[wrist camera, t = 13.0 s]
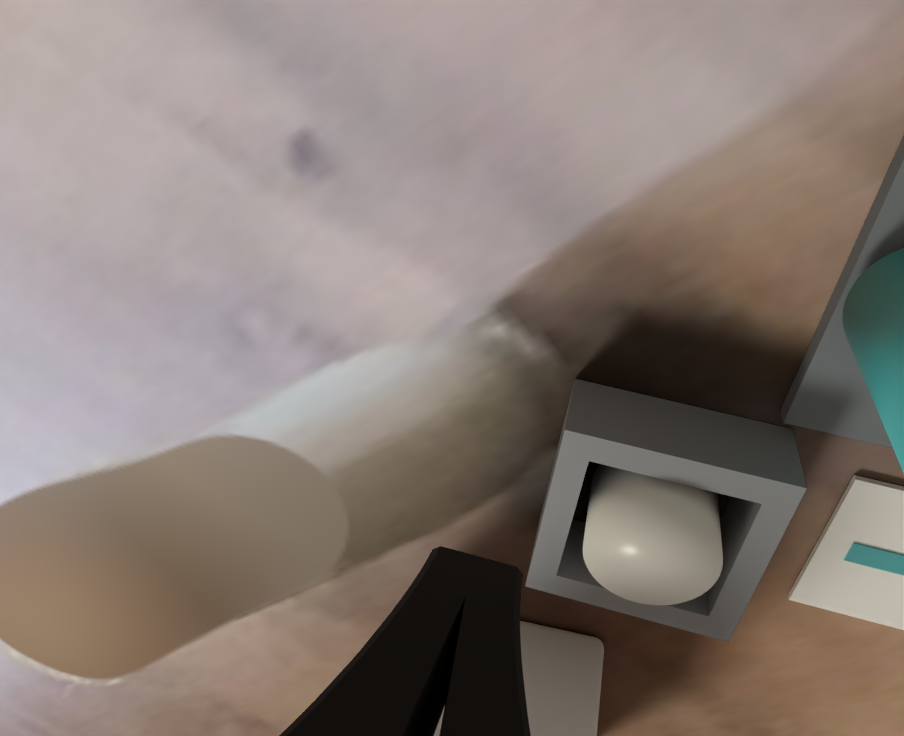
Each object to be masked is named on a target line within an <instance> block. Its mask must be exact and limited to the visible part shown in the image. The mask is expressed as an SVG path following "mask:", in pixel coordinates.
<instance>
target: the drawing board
mask: <svg viewBox="0 0 904 736" xmlns="http://www.w3.org/2000/svg"><path fill="white" fill-rule="evenodd" d="M902 248H904V136H903V138H902V140H901V143H900V145H899V147H898V149H897V151H896V154H895V156H894V158H893V160H892V163H891V165H890V167H889V169H888V172H887V174H886V176H885V178H884V180H883V183H882V185H881V187H880V189H879V192H878V194H877V196H876V198H875V200H874V203H873V205H872V207H871V209H870V212H869V214H868V216H867V218H866V221H865V223H864V225H863V227H862V229H861V232H860V234H859V236H858V238H857V241H856V243H855V245H854V247H853V249H852V252H851V254H850V256H849V258H848V261H847V263H846V265H845V267H844V270H843V272H842V274H841V276H840V278H839V281H838V283H837V285H836V287H835V290H834V292H833V294H832V296H831V298H830V301H829V303H828V305H827V307H826V310H825V312H824V314H823V316H822V319H821V321H820V323H819V325H818V327H817V330H816V332H815V334H814V336H813V339H812V341H811V343H810V345H809V347H808V350H807V352H806V354H805V356H804V359H803V361H802V363H801V365H800V368H799V370H798V372H797V374H796V376H795V379H794V381H793V383H792V385H791V388H790V390H789V392H788V394H787V396H786V399H785V401H784V403H783V405H782V408H781V410H780V411H781V415H782V420H783V423H786V424H790V425H795V426H799V427H803V428H808V429H812V430H816V431H821V432H825V433H829V434H834V435H838V436H842V437H847V438H851V439H855V440H860V441H864V442H868V443H873V444H877V445H881V446H886V447H890V448H893V447H892V444H891V442H890V439H889V437H888V435H887V432H886V430H885V428H884V425H883V423H882V420H881V418H880V416H879V413H878V411H877V409H876V406H875V404H874V401H873V399H872V397H871V394H870V392H869V390H868V387H867V385H866V383H865V380H864V378H863V375H862V373H861V371H860V368H859V366H858V364H857V361H856V359H855V356H854V354H853V352H852V349H851V347H850V345H849V342H848V340H847V337H846V335H845V332H844V328H843V321H842V315H843V307H844V303H845V300H846V297H847V295H848V293H849V291H850V289H851V287H852V286H853V284H854V283H855V282H856V280H857V279H858V278H859V277H860V276H861V275H862V273H863V272H864V271H865V270H867V269H868V268H869V267H870V266H871V265H872V264H874V263H875V262H877V261H878V260H880V259H881V258H883V257H885V256H886V255H888V254H890V253H892V252H895V251H897V250H899V249H902Z"/></svg>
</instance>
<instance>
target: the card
mask: <svg viewBox="0 0 904 736" xmlns="http://www.w3.org/2000/svg"><path fill="white" fill-rule="evenodd" d="M788 598H789V600H792V601H796V602H799V603H803V604H807V605H811V606H814V607H818V608H822V609H826V610H830V611H833V612H837V613H841V614H845V615H849V616H852V617H856V618H860V619H864V620H867V621H871V622H875V623H879V624H883V625H886V626H890V627H894V628H898V629H902V630H904V487H903V486H899V485H895V484H890V483H886V482H882V481H878V480H873V479H869V478H865V477H861V476H857V475H854V476H853V478H852V479H851V481H850V483H849V485H848V487H847V489H846V490H845V492H844V494H843V496H842V498H841V499H840V501H839V503H838V505H837V507H836V509H835V510H834V512H833V514H832V516H831V518H830V519H829V521H828V523H827V525H826V527H825V528H824V530H823V532H822V534H821V536H820V538H819V539H818V541H817V543H816V545H815V547H814V548H813V550H812V552H811V554H810V556H809V558H808V559H807V561H806V563H805V565H804V567H803V568H802V570H801V572H800V574H799V576H798V578H797V579H796V581H795V583H794V585H793V587H792V588H791V590H790V592H789V594H788Z"/></svg>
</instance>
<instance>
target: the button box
mask: <svg viewBox="0 0 904 736" xmlns="http://www.w3.org/2000/svg"><path fill="white" fill-rule="evenodd" d="M589 461H590V462H594V463H598V464H602V465H606V466H610V467H614V468H618V469H623V470H627V471H631V472H635V473H639V474H643V475H647V476H651V477H655V478H659V479H663V480H667V481H671V482H675V483H679V484H683V485H687V486H691V487H695V488H699V489H703V490H707V491H711V492H716V493H720V494H724V495H728V496H730V498H729V500H728V502H727V505H726V507H725V509H724V511H723V514H722V516H721V518H720V529H721V540H722V552H723V566H722V571H721V574H720V576H719V578H718V580H717V581H716V583H715V584H714V585H713V586H712V587H711V588H710V589H709V590H708V591H707V592H705V593H704V594H702V595H701V596H699V597H697V598H695V599H692V600H689V601H687V602H683V603H679V604H672V605H648V604H641V603H637V602H633V601H630V600H627V599H624V598H622V597H620V596H617V595H616V594H614V593H612V592H610V591H609V590H607V589H606V588H604V587H603V586H602V585H601V584H600V583H598V582H597V581H596V579H595V578H594V577H593V576H592V575H591V573H590V572H589V570H588V568H587V566H586V564H585V561H584V558H583V541H584V533H585V526H586V523H585V522H581V521H577V520H574V519H573V515H574V512H575V508H576V505H577V501H578V498H579V494H580V491H581V487H582V484H583V480H584V477H585V473H586V470H587V466H588V463H589ZM806 489H807V487H806V482H805V478H804V474H803V470H802V466H801V462H800V457H799V453H798V449H797V445H796V441H795V437H794V433H793V429H790V428H786V427H781V426H777V425H773V424H768V423H764V422H760V421H756V420H751V419H747V418H743V417H738V416H734V415H730V414H725V413H721V412H717V411H712V410H708V409H704V408H699V407H695V406H691V405H687V404H682V403H678V402H674V401H669V400H665V399H661V398H656V397H652V396H648V395H643V394H639V393H635V392H630V391H626V390H622V389H618V388H613V387H609V386H605V385H600V384H596V383H592V382H587V381H583V380H579V379H575V380H574V384H573V388H572V392H571V396H570V400H569V404H568V408H567V412H566V416H565V420H564V424H563V428H562V432H561V436H560V440H559V444H558V448H557V452H556V456H555V460H554V464H553V468H552V472H551V476H550V480H549V484H548V488H547V492H546V496H545V500H544V504H543V508H542V512H541V516H540V520H539V524H538V528H537V532H536V537H535V542H534V546H533V551H532V556H531V561H530V565H529V570H528V575H527V580H526V584H525V587H529V588H533V589H536V590H540V591H544V592H547V593H551V594H555V595H558V596H562V597H565V598H569V599H573V600H576V601H580V602H584V603H587V604H591V605H595V606H598V607H602V608H605V609H609V610H613V611H616V612H620V613H624V614H627V615H631V616H635V617H638V618H642V619H645V620H649V621H653V622H656V623H660V624H664V625H667V626H671V627H675V628H678V629H682V630H685V631H689V632H693V633H696V634H700V635H704V636H707V637H711V638H715V639H718V640H722V641H725V642H729V640H730V638H731V636H732V634H733V632H734V630H735V628H736V626H737V624H738V622H739V620H740V618H741V617H742V615H743V613H744V611H745V609H746V607H747V605H748V603H749V601H750V599H751V597H752V595H753V593H754V591H755V589H756V587H757V585H758V583H759V581H760V579H761V577H762V575H763V573H764V572H765V570H766V568H767V566H768V564H769V562H770V560H771V558H772V556H773V554H774V552H775V550H776V548H777V546H778V544H779V542H780V540H781V538H782V536H783V534H784V532H785V530H786V528H787V527H788V525H789V523H790V521H791V519H792V517H793V515H794V513H795V511H796V509H797V507H798V505H799V503H800V501H801V499H802V497H803V495H804V493H805V491H806Z"/></svg>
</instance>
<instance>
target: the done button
mask: <svg viewBox="0 0 904 736" xmlns="http://www.w3.org/2000/svg"><path fill="white" fill-rule="evenodd" d="M583 558H584V561H585V564H586V566H587V568H588V570H589V572H590V573H591V575H592V576H593V577H594V578H595V579H596V581H597V582H598V583H600V584H601V585H602V586H603V587H604V588H606V589H607V590H609V591H610V592H612V593H614V594H616V595H617V596H620V597H622V598H624V599H627V600H630V601H633V602H637V603H641V604H648V605H672V604H679V603H683V602H687V601H689V600H692V599H695V598H697V597H699V596H701V595H702V594H704V593H705V592H707V591H708V590H709V589H710V588H711V587H712V586H713V585H714V584H715V583H716V581H717V580H718V578H719V576H720V574H721V571H722V566H723V552H722V540H721V529H720V517H719V505H718V493H716V492H711V491H707V490H703V489H699V488H695V487H691V486H687V485H683V484H679V483H675V482H671V481H667V480H663V479H659V478H655V477H651V476H647V475H643V474H639V473H635V472H631V471H627V470H623V469H618V468H614V467H610V466H606V465H602V464H600V465H599V466H598V468H597V469H596V471H595V473H594V475H593V478H592V482H591V489H590V496H589V504H588V511H587V519H586V526H585V533H584V541H583Z"/></svg>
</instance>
